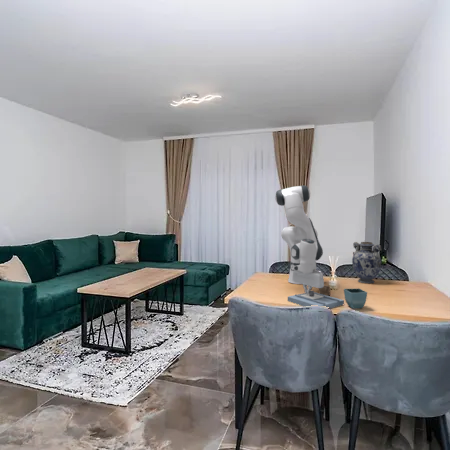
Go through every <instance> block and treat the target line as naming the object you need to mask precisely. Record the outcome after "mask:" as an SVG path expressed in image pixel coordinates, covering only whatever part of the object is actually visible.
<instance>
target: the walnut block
mask: <svg viewBox="0 0 450 450" xmlns="http://www.w3.org/2000/svg"><path fill="white" fill-rule="evenodd" d="M318 293H319V294H323V295H327V296H330V297H331V286H329V285H326V284H324V287H323V288H318Z"/></svg>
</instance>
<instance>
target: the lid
mask: <svg viewBox="0 0 450 450" xmlns="http://www.w3.org/2000/svg"><path fill="white" fill-rule="evenodd" d="M314 292H315V291H314V290H311V291H309V293H308V294H303V293H302V294H303V295H300V296H303V297H306V298H310V299H313V300H314V299H319V298H323V297H324V296H321V295H317V294H314Z"/></svg>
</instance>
